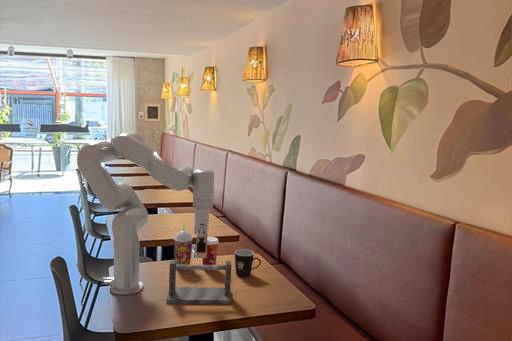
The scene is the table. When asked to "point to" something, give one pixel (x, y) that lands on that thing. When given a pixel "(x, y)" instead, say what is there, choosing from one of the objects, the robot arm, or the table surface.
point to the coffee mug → (244, 262)
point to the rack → (199, 293)
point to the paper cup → (211, 251)
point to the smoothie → (183, 247)
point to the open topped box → (204, 255)
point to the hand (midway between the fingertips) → (201, 249)
